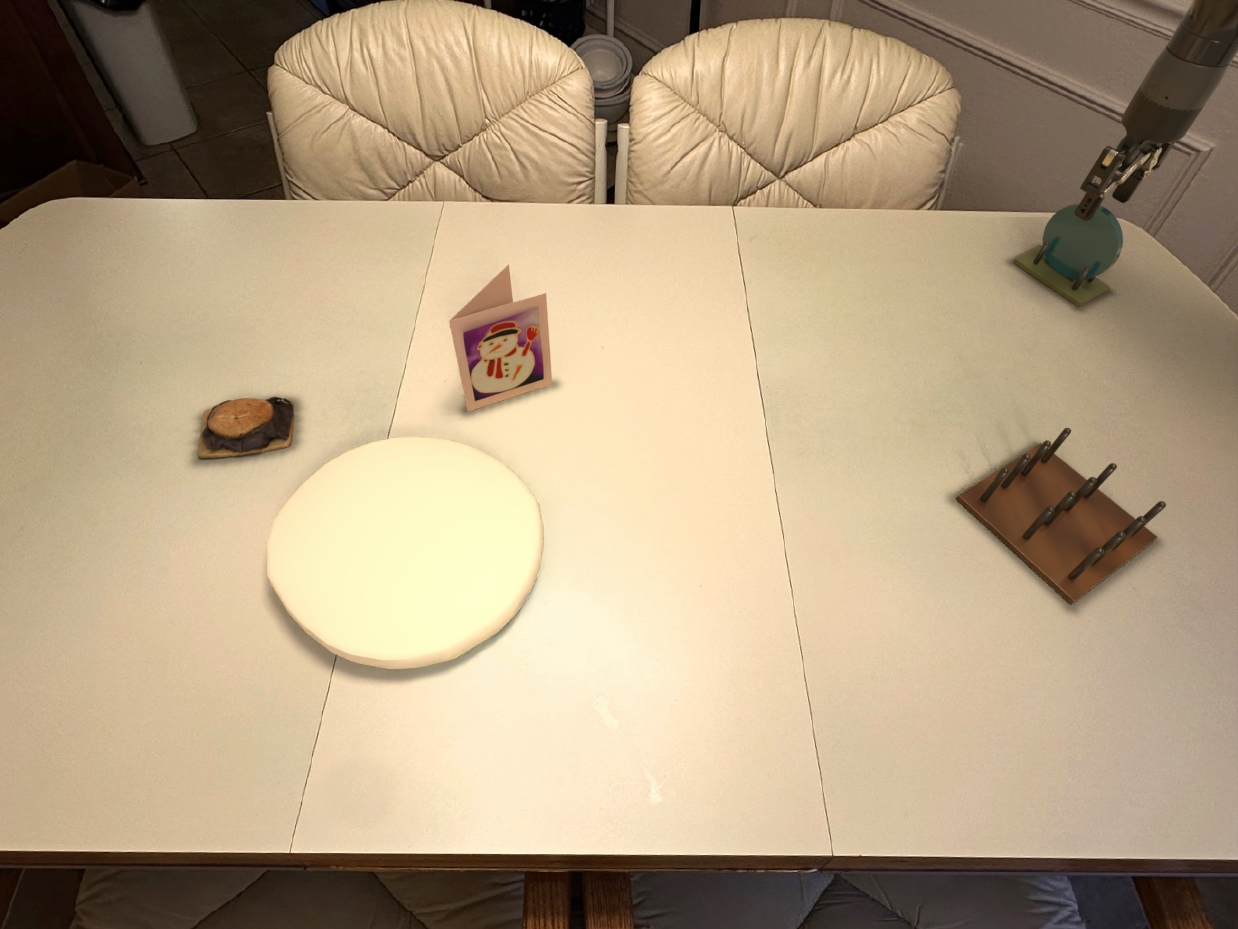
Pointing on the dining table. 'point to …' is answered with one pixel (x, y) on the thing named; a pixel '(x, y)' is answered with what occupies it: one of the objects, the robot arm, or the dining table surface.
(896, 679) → the dining table surface
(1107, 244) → the small plate
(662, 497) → the dining table surface
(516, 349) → the greeting card
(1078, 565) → the dish rack
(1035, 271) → the drying stand
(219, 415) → the brown piece
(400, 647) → the plate
